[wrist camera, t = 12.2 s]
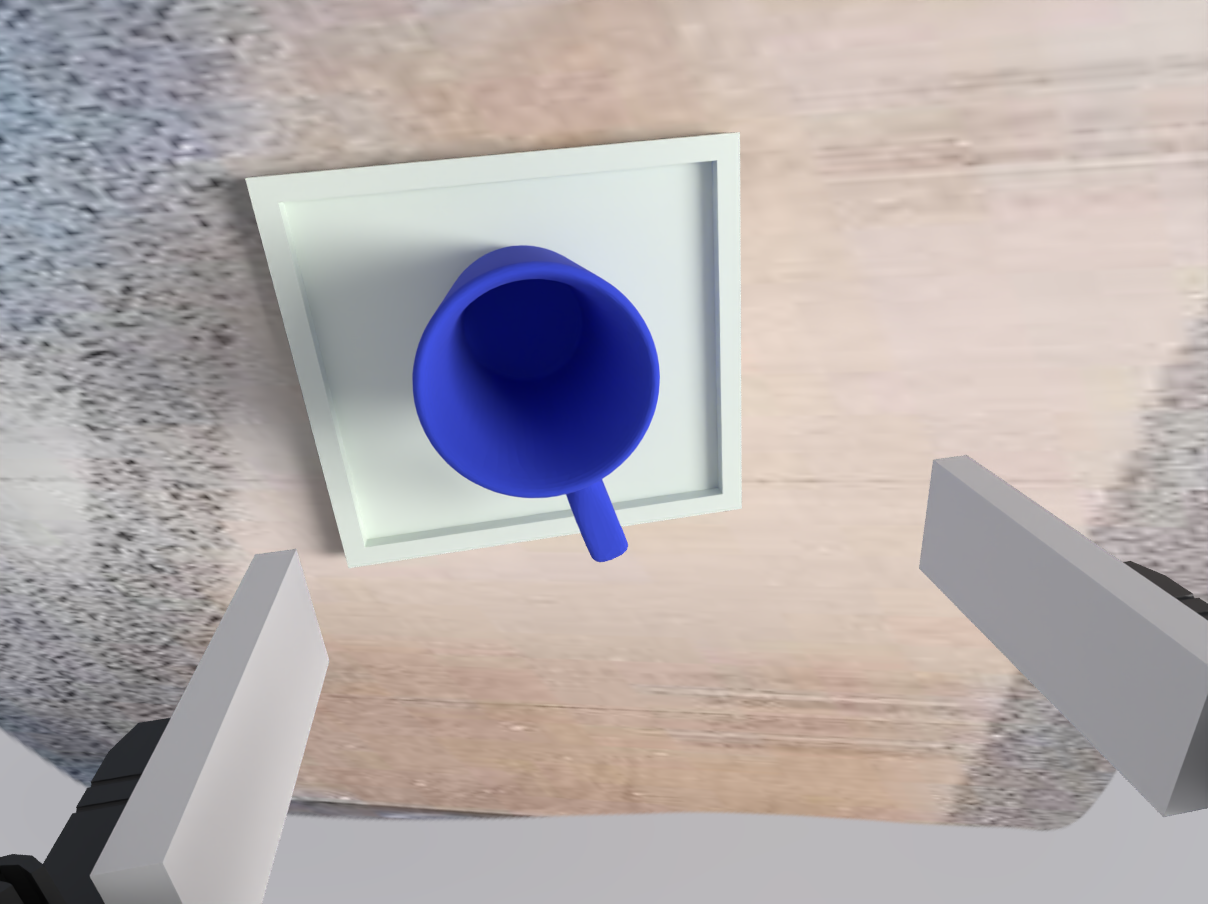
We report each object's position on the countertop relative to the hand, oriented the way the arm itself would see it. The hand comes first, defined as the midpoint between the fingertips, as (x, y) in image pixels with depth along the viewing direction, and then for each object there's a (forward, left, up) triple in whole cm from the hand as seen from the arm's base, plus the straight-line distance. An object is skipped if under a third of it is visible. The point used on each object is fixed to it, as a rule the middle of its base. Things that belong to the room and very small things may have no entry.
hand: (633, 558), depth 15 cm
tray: (+2, -1, -21) cm, 21 cm away
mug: (+1, -1, -21) cm, 20 cm away
